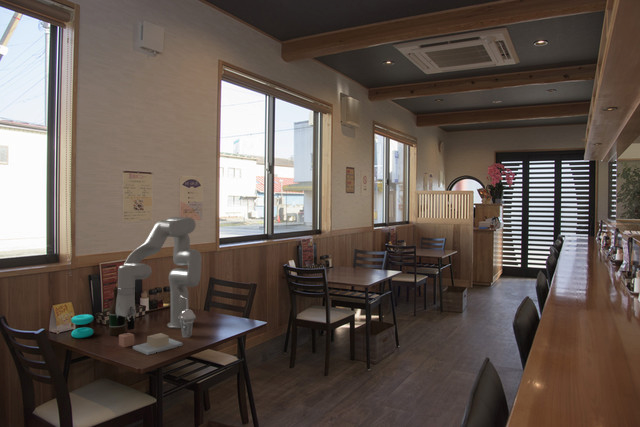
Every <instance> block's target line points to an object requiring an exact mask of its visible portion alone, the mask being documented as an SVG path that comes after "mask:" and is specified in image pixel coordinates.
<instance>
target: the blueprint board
mask: <svg viewBox="0 0 640 427" xmlns="http://www.w3.org/2000/svg"><path fill="white" fill-rule="evenodd" d="M183 345H184V343H183V342H181V341H180V340H176V339H173V338H170V335H168V334H165V333H162V332H160V333H156V334H151V335H147V336H146V342H144V343H141V344H135V345H132V350H134V351H137V352H140V353H142V354H144V355H147V356H149V355H152V354H156V352H157V353H161V352H164V351H167V350H168V351H169V350H170V349H175V348H178V346H179V347H183Z"/></svg>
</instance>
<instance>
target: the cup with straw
mask: <svg viewBox="0 0 640 427" xmlns="http://www.w3.org/2000/svg"><path fill="white" fill-rule="evenodd" d="M180 297H181V298H183V299H186V309H184V310H183V311H182V312H181V313H180V315H179V316H178V318H179V319H180V323H181V328H180V330H181V335H182V336H181V337H182V338H184V339H185V338H186V339H187V338H190V337H192V333H193V325H194V321H195V319H194V318H195V316H196V314H195V313H194V312H193V310H191V309H190V308H189V303H188V299H187V298H185V297H182V296H180Z"/></svg>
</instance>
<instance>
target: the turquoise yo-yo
mask: <svg viewBox="0 0 640 427" xmlns="http://www.w3.org/2000/svg"><path fill="white" fill-rule="evenodd" d="M94 317H95V316H93V315H92V314H88V313H86V314H85V313H84V314H78V315H75V316H72V318H71V323H72V324H74V325H78V326H79V325H87V324H90V323H92V322H93V321H94ZM94 332H95V331H94V329H93V328H92V327H87V326H83V327H78V328H75V329H74V330H72V332H71V336H72V338H75V339H83V338H88V337H91V336H93V334H94Z"/></svg>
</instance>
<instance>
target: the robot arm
mask: <svg viewBox="0 0 640 427" xmlns="http://www.w3.org/2000/svg"><path fill="white" fill-rule="evenodd" d="M196 224H197V223H196V221H195V219H194V218H192V217H188V216H170V217H168V218H167V219H166V220H159V221H156V223H155V224H154V225H153V227H152V229H151V230H150V232H149V234H148V236H147V237H146V239H145V241H144V242H143V243H142V244H141V245H140V246H138V247H137V248H136V249H134V250H133V251H132V252H131V253H130V254H129V255H128V256H127V258H126V260H125V262H124V263H123V264H121V265H119V266H118V269H117V287H118V295H117V300H116V314H117V326H123V325H124V317H126V319H127V320H128V321H127V320H126V322H127V323H126V330H127V331H131V330H134V329H135V321H136V318H137V317H136V315H137V311H136V303H135V302H136V300H135V294H136V293H135V292H136V280H145V279H147V278H149V277H150V276H151V275H152V268H151V266H150V265H148V264H146V263H140V262H142V260H143V259H146V258H147V257H149V256H152V255H154V254H155V255H156V254H158V253H159V252H160V251H161V250H162V248H163V245H164V244H165V242H166V240H167V238H168V237H169V238H173V252H172V262H173V264H174V265H176V266H181V267H187V268H180V267H177V268H173V269H171V270H170V271H169V274H168V283H169V292H170V322H168V323H167V325H166V326H167V327H168V328H170V329H181V323H180V319H179V318H178V316H179V315H180V313H181V312H182V311H183V310H184V309H186V299H183V298H181V297H180V296H182V297H185V298H187V299H188V304H189V298H190V296H189V289H188V288H190V287H191V288H194V287H196V286H198V285H199V284H200V280H201V275H202V274H201V273H202V261H203V259H202V254H201V252H200V251H199V250H198V249H194V248H191V238H190V235H189V234H191V233H193V232H194V231H195V229H196V226H197V225H196ZM196 319H197V317H196V315H195V318H194V320H196Z"/></svg>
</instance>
